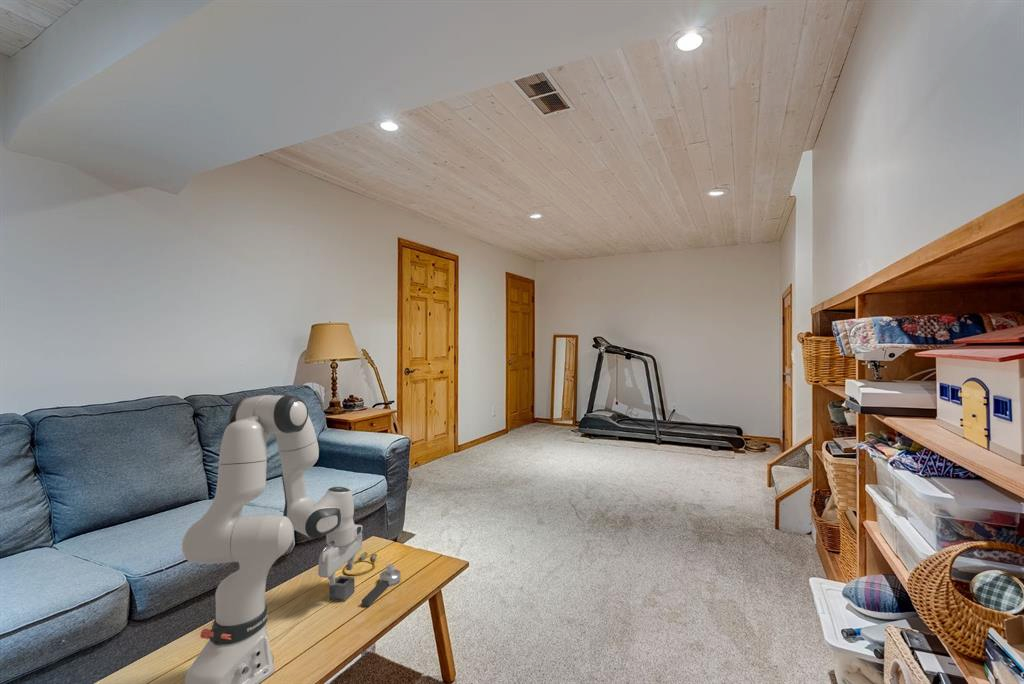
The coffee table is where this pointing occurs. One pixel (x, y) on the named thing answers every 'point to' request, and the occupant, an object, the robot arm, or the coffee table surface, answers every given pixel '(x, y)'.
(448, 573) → the coffee table surface
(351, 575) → the extension cord
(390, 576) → the ratchet
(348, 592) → the socket
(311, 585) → the coffee table surface
